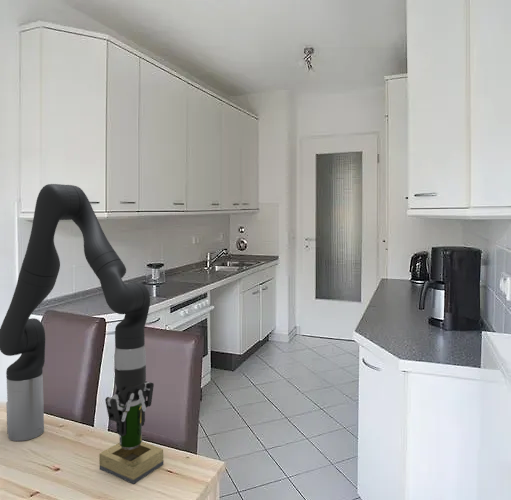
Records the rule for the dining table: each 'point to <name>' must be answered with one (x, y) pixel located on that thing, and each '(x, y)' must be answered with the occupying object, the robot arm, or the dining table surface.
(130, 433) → the beer can
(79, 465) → the dining table surface
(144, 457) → the socket block
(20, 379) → the robot arm
